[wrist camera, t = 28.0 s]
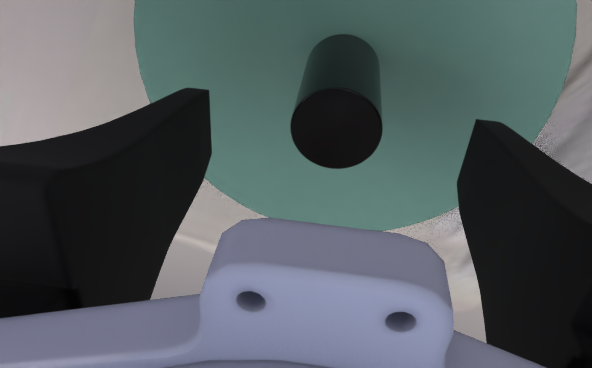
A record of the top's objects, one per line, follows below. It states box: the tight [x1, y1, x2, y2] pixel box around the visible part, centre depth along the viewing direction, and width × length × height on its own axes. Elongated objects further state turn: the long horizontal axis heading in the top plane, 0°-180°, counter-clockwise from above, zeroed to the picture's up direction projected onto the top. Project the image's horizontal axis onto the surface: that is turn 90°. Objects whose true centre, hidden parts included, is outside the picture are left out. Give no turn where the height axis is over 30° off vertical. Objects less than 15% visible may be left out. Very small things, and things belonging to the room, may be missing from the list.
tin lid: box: [134, 0, 577, 231], centre depth 16 cm, size 15×15×6 cm
